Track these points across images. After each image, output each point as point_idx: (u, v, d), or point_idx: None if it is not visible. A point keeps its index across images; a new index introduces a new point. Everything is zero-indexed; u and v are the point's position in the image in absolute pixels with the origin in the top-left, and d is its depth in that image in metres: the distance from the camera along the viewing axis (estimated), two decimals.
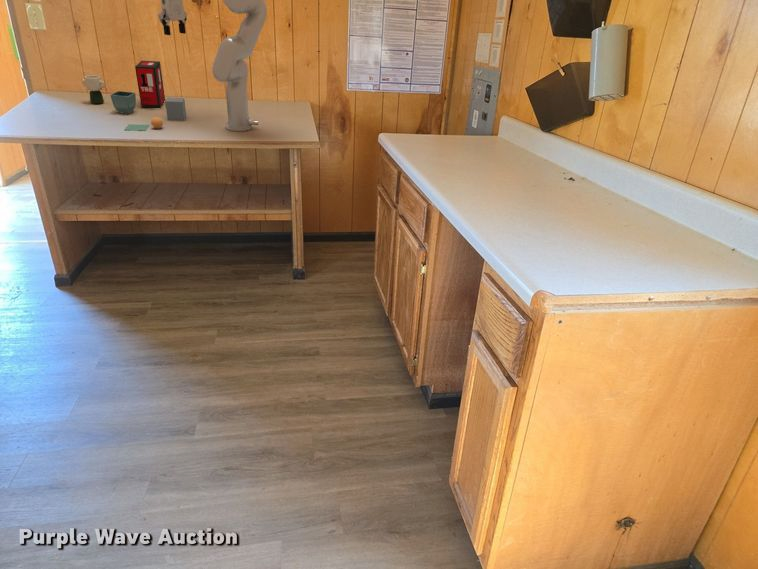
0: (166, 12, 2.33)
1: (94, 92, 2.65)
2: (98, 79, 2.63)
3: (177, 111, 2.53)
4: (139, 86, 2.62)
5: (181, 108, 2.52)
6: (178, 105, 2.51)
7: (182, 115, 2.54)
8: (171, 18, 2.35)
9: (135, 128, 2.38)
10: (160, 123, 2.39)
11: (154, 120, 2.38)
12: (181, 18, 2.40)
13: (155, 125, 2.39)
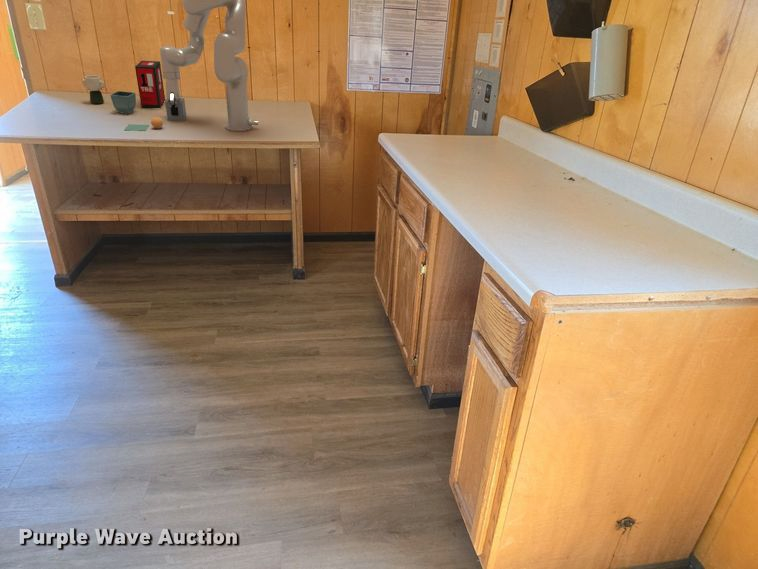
0: None
1: (94, 92, 2.65)
2: (98, 79, 2.63)
3: None
4: (139, 86, 2.62)
5: (181, 108, 2.52)
6: (178, 105, 2.51)
7: (182, 115, 2.54)
8: None
9: (135, 128, 2.38)
10: (160, 123, 2.39)
11: (154, 120, 2.38)
12: None
13: (155, 125, 2.39)
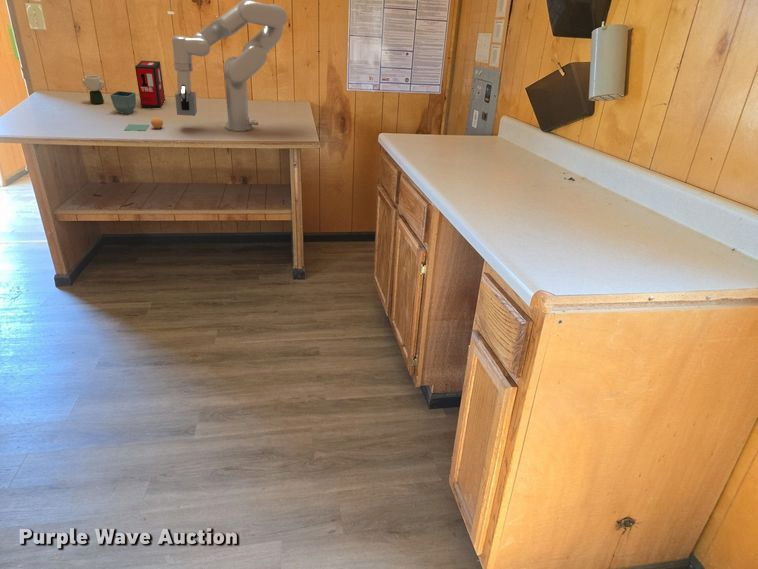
0: None
1: (94, 92, 2.65)
2: (98, 79, 2.63)
3: None
4: (139, 86, 2.62)
5: (192, 102, 2.35)
6: (189, 99, 2.34)
7: (193, 110, 2.37)
8: None
9: (135, 128, 2.38)
10: (160, 123, 2.39)
11: (154, 120, 2.38)
12: None
13: (155, 125, 2.39)
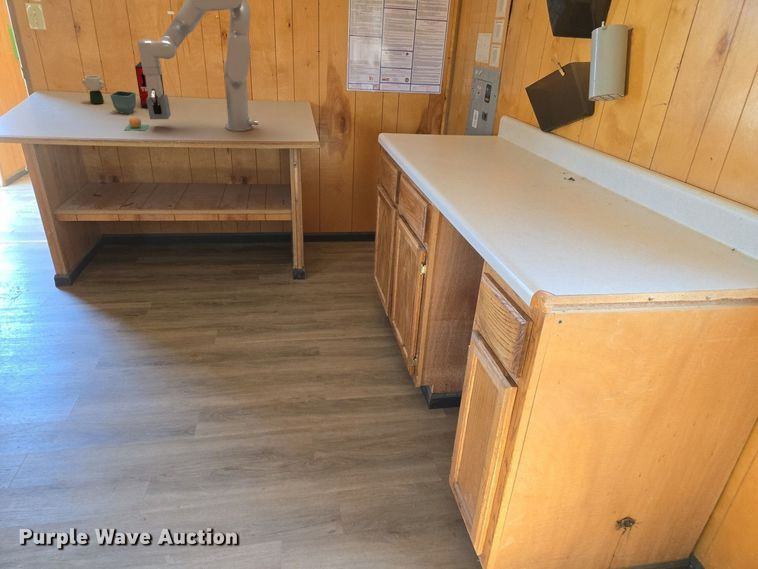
0: None
1: (94, 92, 2.65)
2: (98, 79, 2.63)
3: None
4: (139, 86, 2.62)
5: (164, 106, 2.34)
6: (160, 103, 2.33)
7: (165, 113, 2.35)
8: None
9: (135, 128, 2.38)
10: (131, 125, 2.37)
11: (137, 125, 2.38)
12: None
13: (133, 122, 2.36)
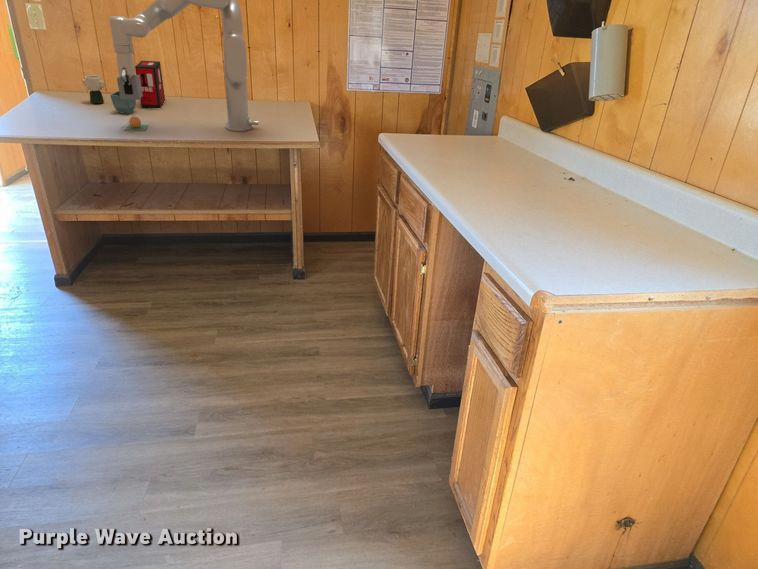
0: None
1: (94, 92, 2.65)
2: (98, 79, 2.63)
3: None
4: None
5: (135, 86, 2.27)
6: (131, 82, 2.26)
7: (137, 94, 2.29)
8: None
9: (135, 128, 2.38)
10: (131, 125, 2.37)
11: (137, 125, 2.38)
12: None
13: (133, 122, 2.36)
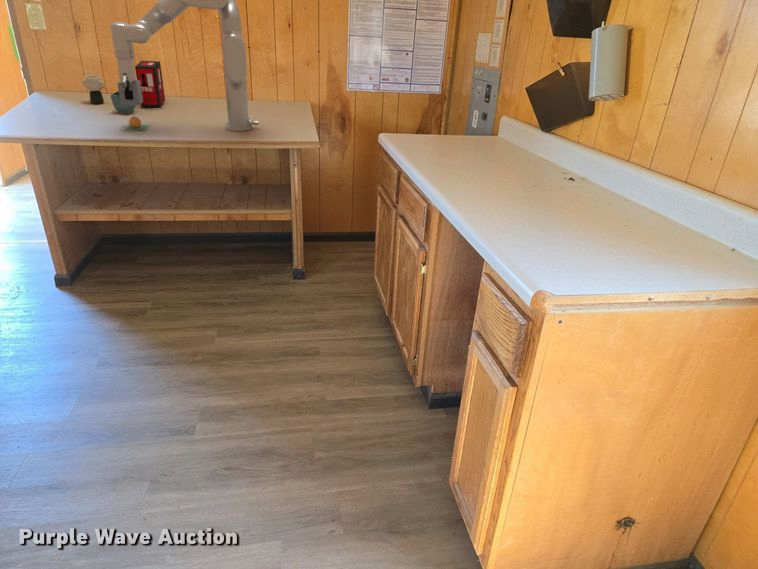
0: None
1: (94, 92, 2.65)
2: (98, 79, 2.63)
3: None
4: None
5: (136, 91, 2.28)
6: (132, 88, 2.27)
7: (137, 99, 2.30)
8: None
9: (135, 128, 2.38)
10: (131, 125, 2.37)
11: (137, 125, 2.38)
12: None
13: (133, 122, 2.36)
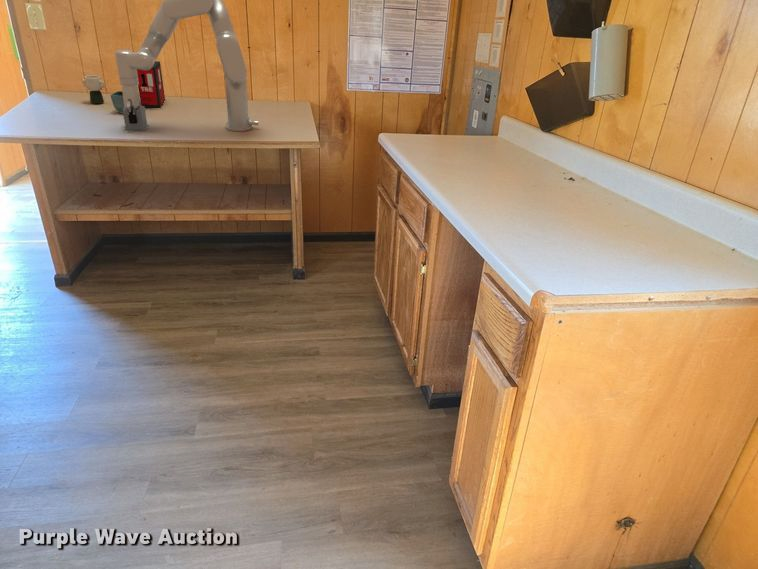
0: None
1: (94, 92, 2.65)
2: (98, 79, 2.63)
3: None
4: (139, 86, 2.62)
5: (140, 117, 2.34)
6: (136, 114, 2.33)
7: (141, 125, 2.36)
8: None
9: None
10: None
11: None
12: None
13: None
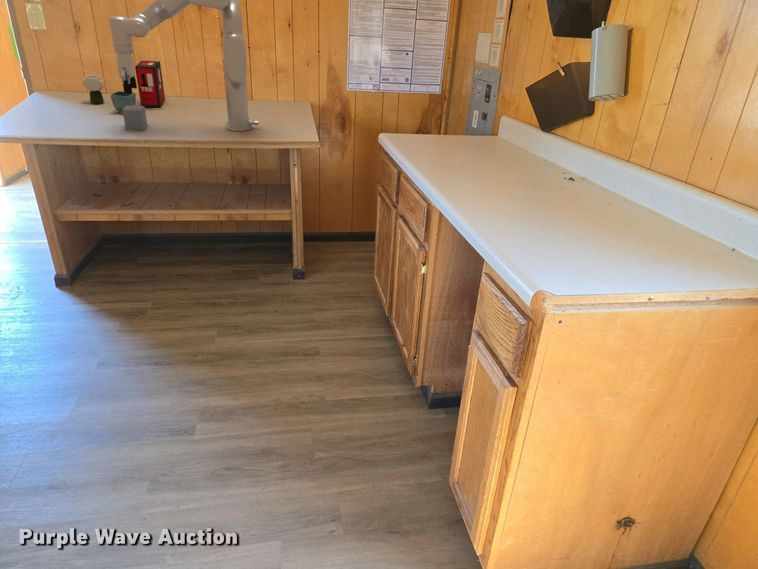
0: None
1: (94, 92, 2.65)
2: (98, 79, 2.63)
3: (136, 120, 2.35)
4: (139, 86, 2.62)
5: (140, 117, 2.34)
6: (136, 114, 2.33)
7: (141, 125, 2.36)
8: None
9: None
10: None
11: None
12: None
13: None
